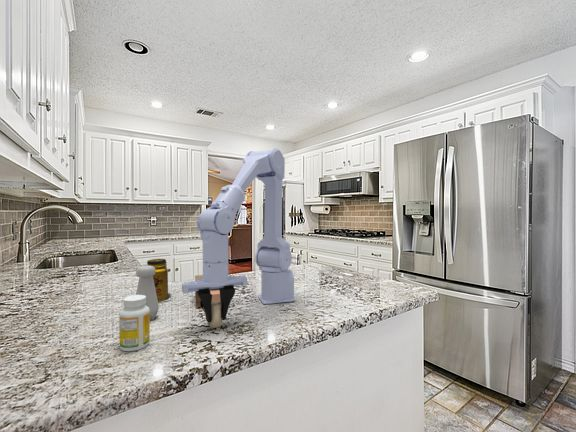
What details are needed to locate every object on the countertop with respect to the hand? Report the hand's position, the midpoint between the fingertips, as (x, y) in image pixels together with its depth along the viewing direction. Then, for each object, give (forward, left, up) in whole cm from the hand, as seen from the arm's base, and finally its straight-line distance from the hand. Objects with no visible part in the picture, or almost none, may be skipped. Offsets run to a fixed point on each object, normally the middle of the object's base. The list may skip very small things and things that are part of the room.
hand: (216, 319), depth 68 cm
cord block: (0, -7, -2) cm, 7 cm away
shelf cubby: (0, -20, -2) cm, 21 cm away
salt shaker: (+16, -10, -2) cm, 19 cm away
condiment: (+15, -27, -2) cm, 31 cm away
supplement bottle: (+16, +5, -2) cm, 17 cm away
